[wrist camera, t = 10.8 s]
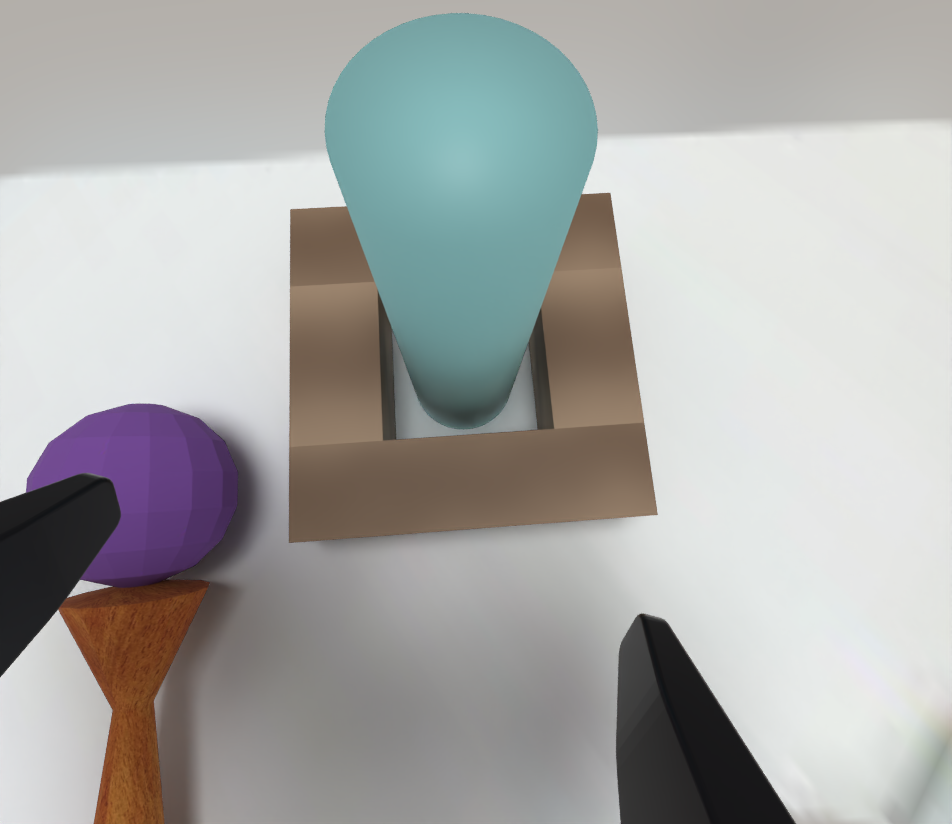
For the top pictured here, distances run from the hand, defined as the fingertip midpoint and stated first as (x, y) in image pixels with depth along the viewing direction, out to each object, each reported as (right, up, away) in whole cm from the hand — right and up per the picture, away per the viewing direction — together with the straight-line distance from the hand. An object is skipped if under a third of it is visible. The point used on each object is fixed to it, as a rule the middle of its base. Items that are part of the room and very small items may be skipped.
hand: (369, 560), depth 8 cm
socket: (+1, +4, +13) cm, 13 cm away
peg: (+1, +4, +13) cm, 13 cm away
